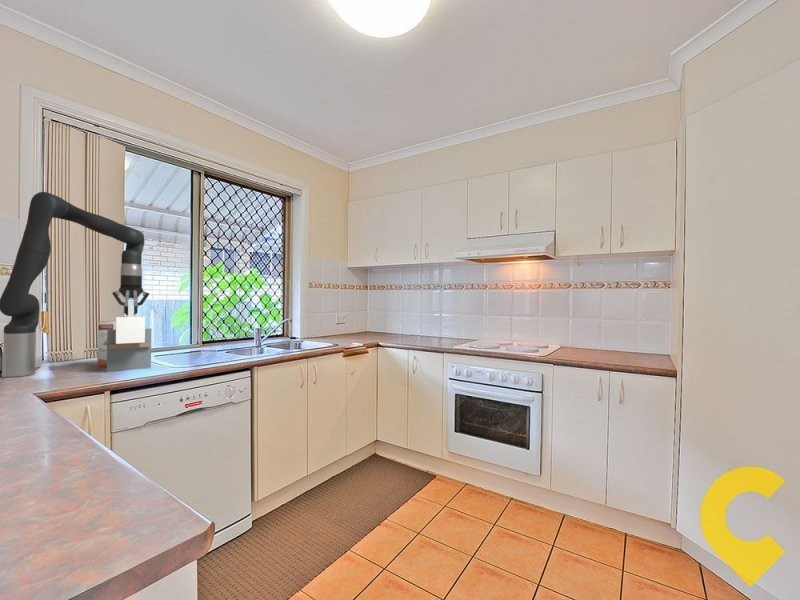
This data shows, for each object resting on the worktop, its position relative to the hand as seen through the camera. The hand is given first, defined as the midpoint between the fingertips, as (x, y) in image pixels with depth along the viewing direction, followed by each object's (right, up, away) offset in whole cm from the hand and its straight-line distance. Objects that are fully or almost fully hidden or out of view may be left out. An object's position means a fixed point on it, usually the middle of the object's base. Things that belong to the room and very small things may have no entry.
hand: (130, 314), depth 163 cm
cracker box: (-18, -25, +16) cm, 34 cm away
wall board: (-5, -25, +6) cm, 26 cm away
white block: (-1, -12, +1) cm, 12 cm away
